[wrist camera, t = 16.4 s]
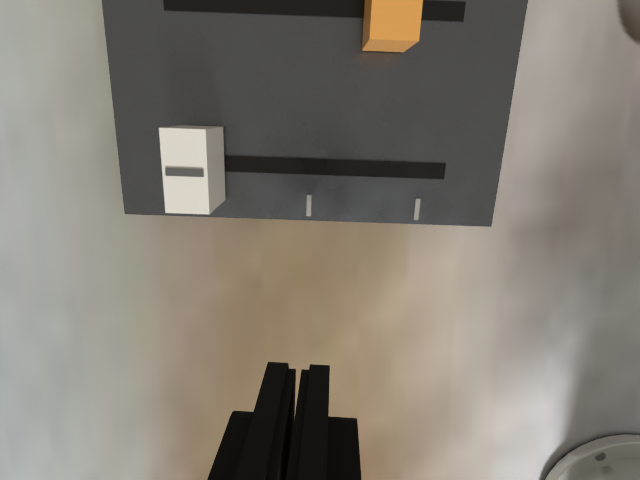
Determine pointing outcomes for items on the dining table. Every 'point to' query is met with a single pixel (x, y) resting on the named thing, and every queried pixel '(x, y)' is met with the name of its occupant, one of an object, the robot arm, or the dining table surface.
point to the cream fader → (192, 168)
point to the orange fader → (391, 25)
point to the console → (318, 106)
